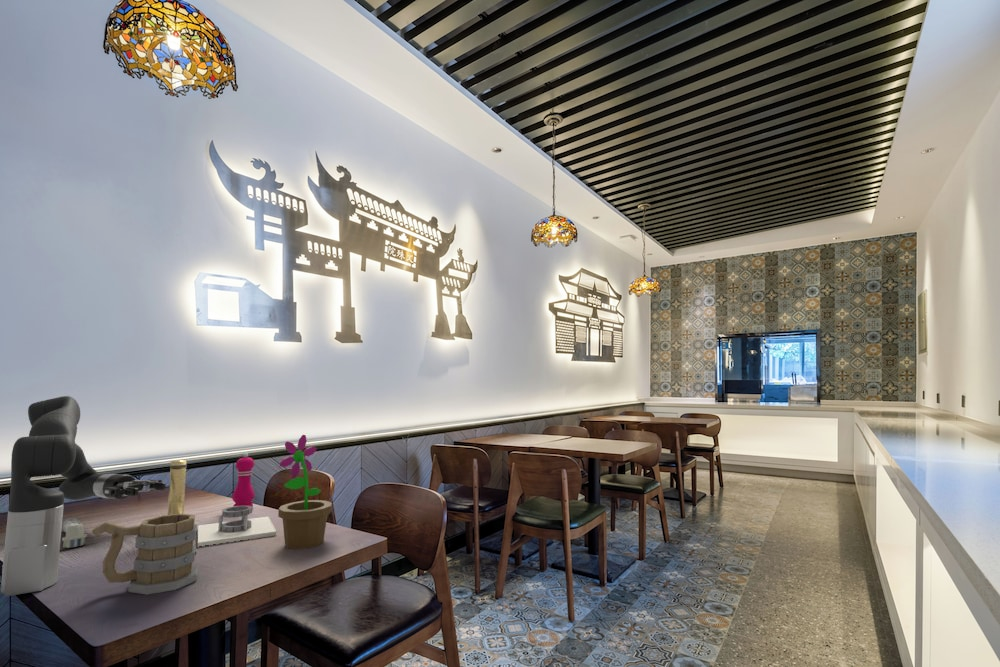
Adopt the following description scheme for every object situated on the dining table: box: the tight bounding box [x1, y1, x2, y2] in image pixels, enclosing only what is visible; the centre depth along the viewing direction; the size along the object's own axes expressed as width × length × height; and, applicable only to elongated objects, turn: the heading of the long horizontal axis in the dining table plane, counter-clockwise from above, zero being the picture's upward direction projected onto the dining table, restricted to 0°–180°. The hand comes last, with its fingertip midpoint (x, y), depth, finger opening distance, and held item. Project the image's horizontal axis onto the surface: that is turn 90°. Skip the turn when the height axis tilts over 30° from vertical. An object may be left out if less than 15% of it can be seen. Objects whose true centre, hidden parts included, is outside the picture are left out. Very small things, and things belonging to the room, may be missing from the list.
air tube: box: [167, 459, 188, 515], centre depth 148 cm, size 4×4×22 cm
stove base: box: [197, 505, 277, 548], centre depth 151 cm, size 20×20×7 cm
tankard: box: [91, 513, 199, 596], centre depth 111 cm, size 20×13×15 cm, turn 118°
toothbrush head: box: [61, 517, 88, 549], centre depth 146 cm, size 5×7×25 cm
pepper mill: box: [231, 452, 256, 509], centre depth 181 cm, size 7×7×20 cm
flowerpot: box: [277, 434, 333, 550], centre depth 142 cm, size 14×14×30 cm
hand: (151, 489), depth 152 cm, fingers open, 8 cm apart
